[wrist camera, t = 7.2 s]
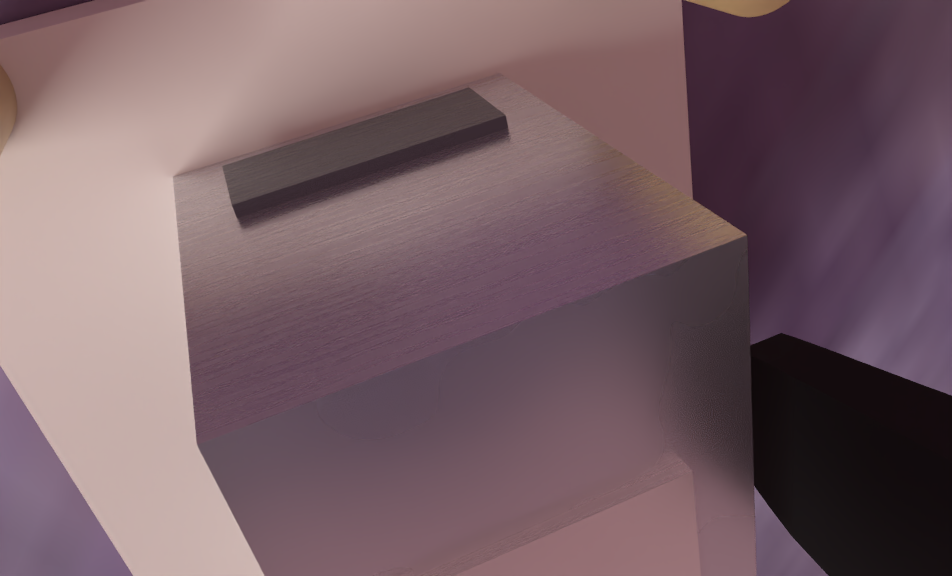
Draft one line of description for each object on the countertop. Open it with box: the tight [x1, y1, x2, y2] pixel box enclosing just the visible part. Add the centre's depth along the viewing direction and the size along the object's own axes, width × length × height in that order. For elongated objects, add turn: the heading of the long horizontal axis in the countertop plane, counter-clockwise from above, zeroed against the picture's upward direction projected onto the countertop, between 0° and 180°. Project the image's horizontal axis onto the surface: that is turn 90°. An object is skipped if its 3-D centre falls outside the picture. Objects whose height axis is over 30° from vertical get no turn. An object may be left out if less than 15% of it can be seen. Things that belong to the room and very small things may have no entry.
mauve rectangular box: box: [173, 73, 756, 576], centre depth 10 cm, size 8×4×5 cm, turn 12°
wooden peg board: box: [0, 0, 790, 576], centre depth 11 cm, size 13×10×4 cm
